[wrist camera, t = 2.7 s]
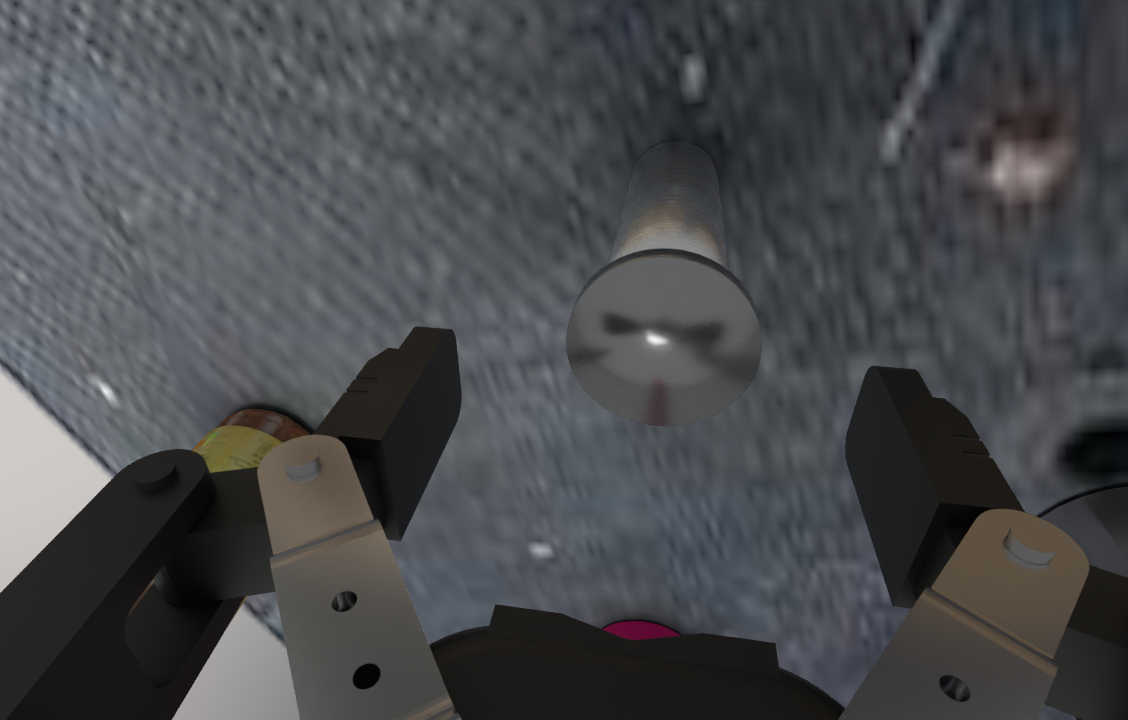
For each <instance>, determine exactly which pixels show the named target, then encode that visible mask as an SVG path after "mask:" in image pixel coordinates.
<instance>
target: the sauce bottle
mask: <svg viewBox="0 0 1128 720" xmlns="http://www.w3.org/2000/svg"><path fill="white" fill-rule="evenodd" d="M307 435H310V433H309V432H308V431H307V430H306V429H304V428H303V427H302V426H300V425H299V424H298V423H296V422H294V421H293V420H291V419H290V418H289V417H287V416H285V415H281V414H278V413H275V412H274V411H267V410H262V409H244V410H241V411H238V412H237V413H235V414H232V415H230V416H229V417H227V418H226V419H225V420H224V421H223V422H222V423H221V424H220V425H219V426H218V427H216V428H215V429H214V430H211V431H210V432H209V433H208V434H207V435H206V436H205V437H204V438H203V439H202V440H201V441H200V442H199V443H198V444H197V446H196V447H195V448H194V449H193V450H192V451H194V452H197V453H198V454H200V455H201V456H202V457H203V458H204V459H205V461H206V464H207V466H208V469H209V471H210V473H212V472H220V471H228V470H237V469H245V468H253V467H258V466H259V464H260V462H261V460H262V459H263V458H264V457H265V455H266V454H268V453H269V452H270V451H271V450H272V449H274V448H275V447H277V446H278V445H280V444H282V443H284V442H286V441H288V440H291V439H294V438H297V437H301V436H307ZM153 583H154V581H153V580H152V581H151V583H150V584H149V585H148V586H147V588H146V589H145V590H144V592H143V593H142V594H141V596H140V597H139V598H138V600H137V601H136V602H135V604H134V605H133V607H132V608H131V610H130V612H129V614H128V616H129V615H130V614H131V612H132V611H133V610H134V608H135V607H136V606H137V604H138V603H139V602H140V600H141V599H142V598H143V596H144V595H145V594H146V592H147V591H148V590H149V588H150V587H151V586H152V584H153ZM246 598H247V596H246V597H245V598H244V600H243V602H242V603H241V605H240V607H241V606H242V604H243V603H244V601H245V599H246ZM240 607H239V608H238V610H239V609H240ZM238 610H237V612H238ZM237 612H236V613H237ZM236 613H235V615H236ZM235 615H234V616H235ZM127 618H128V617H127ZM233 618H234V617H233ZM233 618H232V619H233ZM231 621H232V620H231ZM229 624H230V623H229Z"/></svg>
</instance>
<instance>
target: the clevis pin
mask: <svg viewBox="0 0 1128 720" xmlns="http://www.w3.org/2000/svg"><path fill="white" fill-rule="evenodd" d="M566 345H567V354H568V359H569V363H570V365H571V368H572V371H573V373H574V375H575V377H576V378H577V380H578V382H579V383H580V385H581V386H582V387H583V389H584V390H585V391H586V392H587V393H588V394H589V395H590V397H591V398H593V399H594V400H595V401H596V402H597V403H598V404H600V405H601V406H603V407H604V408H606V409H607V410H609V411H610V412H612V413H614V414H616V415H618V416H620V417H623V418H625V419H628V420H630V421H634V422H638V423H642V424H648V425H655V426H677V425H684V424H690V423H694V422H697V421H701V420H703V419H706V418H709V417H711V416H713V415H715V414H717V413H719V412H721V411H722V410H724V409H725V408H727V407H728V406H730V405H731V404H732V403H733V402H734V401H736V400H737V399H738V398H739V397H740V396H741V395H742V393H743V392H744V391H745V390H746V389H747V387H748V386H749V384H750V383H751V381H752V380H753V378H754V375H755V373H756V371H757V369H758V365H759V362H760V358H761V350H762V340H761V332H760V326H759V321H758V316H757V311H756V308H755V305H754V303H753V300H752V298H751V297H750V295H749V293H748V291H747V290H746V288H745V287H744V286H743V284H742V283H741V282H740V281H739V280H738V279H737V278H736V277H735V276H734V275H733V274H732V273H731V272H730V271H729V269H728V260H727V251H726V243H725V234H724V226H723V217H722V209H721V200H720V191H719V183H718V175H717V170H716V167H715V164H714V163H713V161H712V159H711V158H710V156H709V155H708V154H707V153H706V152H705V151H704V150H703V149H702V148H700V147H699V146H697V145H695V144H693V143H690V142H686V141H680V140H672V141H666V142H663V143H660V144H657V145H655V146H654V147H652V148H650V149H649V150H648V151H647V152H645V153H644V154H643V155H642V157H641V158H640V159H639V161H638V162H637V164H636V166H635V168H634V171H633V174H632V178H631V182H630V186H629V189H628V193H627V197H626V200H625V204H624V208H623V212H622V215H621V219H620V223H619V226H618V230H617V234H616V238H615V241H614V245H613V249H612V252H611V256H610V260H609V263H608V264H607V265H606V266H605V267H603V268H602V269H600V270H599V271H598V272H597V273H596V274H595V275H594V276H593V277H592V278H591V279H590V280H589V281H588V282H587V284H586V285H585V286H584V287H583V289H582V291H581V293H580V294H579V296H578V298H577V300H576V303H575V305H574V308H573V311H572V314H571V317H570V320H569V324H568V328H567V337H566Z"/></svg>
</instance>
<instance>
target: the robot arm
mask: <svg viewBox="0 0 1128 720" xmlns="http://www.w3.org/2000/svg"><path fill="white" fill-rule="evenodd" d="M460 408H461V384H460V374H459V364H458V354H457V344H456V337H455V334H454V331H453V330H451V329H441V328H430V327H418V326H417V327H414V328H413V329H412V331H411V332H410V334H409V335H408V337H407V338H406V339H405V341H404V342H403V344H402V345H401V346H400V348H399V349H394V348H388V349H386V350H385V351H383V352H381V353H380V354H378V355H377V356H375V357H374V358H372V359H370V360H369V361H368V362H367V363H366V365H365V366H364V367H363V369H362V370H361V371H360V372H359V374H358V375H357V376H356V380H353V382H352V383H351V384H350V386H349V387H348V388H347V392H346V393H344V394H343V395H342V396H341V398H340V399H339V400H338V402H337V403H336V404H335V405H334V407H333V408H332V409H331V411H330V412H329V413H328V415H327V416H326V417H325V419H324V420H323V421H322V423H321V424H320V425H319V427H318V428H317V429H316V431H315V432H314V433H313V435H307V436H301V437H297V438H294V439H291V440H288V441H286V442H284V443H282V444H280V445H278V446H277V447H275V448H274V449H272V450H271V451H270V452H269V453H268V454H266V455H265V457H264V458H263V459H262V460H261V462H260V464H259V466H258V467H253V468H245V469H237V470H228V471H220V472H212V473H210V471H209V469H208V466H207V464H206V461H205V459H204V458H203V457H202V456H201V455H200V454H198V453H197V452H194V451H191V450H185V449H174V450H166V451H161V452H157V453H154V454H151V455H148V456H146V457H143V458H141V459H139V460H137V461H135V462H133V463H131V464H130V465H128V466H127V467H125V468H124V469H123V470H121V471H120V472H119V473H118V474H117V475H116V476H115V477H114V478H113V479H112V480H111V481H110V482H109V483H108V484H107V485H106V486H105V487H104V488H103V489H102V490H101V491H100V492H99V493H98V494H97V495H96V496H95V497H94V498H93V499H92V500H91V501H90V502H89V503H88V504H87V505H86V506H85V508H83V510H81V512H79V513H78V514H77V515H76V516H75V518H74V519H73V520H72V521H71V522H70V523H69V524H68V525H67V526H66V527H65V528H64V529H63V530H62V531H61V532H60V533H59V534H58V535H57V536H56V537H55V538H54V539H53V540H52V541H51V542H50V543H49V544H48V545H47V546H46V547H45V548H44V549H43V550H42V551H41V552H40V553H39V554H38V555H37V556H36V557H35V558H34V559H33V560H32V562H30V564H28V566H27V567H26V568H24V569H23V571H22V572H21V573H20V574H19V575H18V576H17V577H16V578H15V579H14V580H13V581H12V582H11V583H10V584H9V585H8V586H7V587H6V588H5V589H4V590H3V591H2V592H1V593H0V720H172V718H173V717H174V715H175V713H176V712H177V710H178V708H179V707H180V705H181V703H182V702H183V700H184V698H185V697H186V695H187V693H188V692H189V690H190V688H191V687H192V685H193V683H194V682H195V680H196V678H197V677H198V675H199V673H200V672H201V670H202V668H203V667H204V665H205V663H206V662H207V660H208V658H209V657H210V655H211V653H212V652H213V650H214V648H215V647H216V645H217V643H218V642H219V640H220V638H221V636H222V635H223V633H224V631H225V630H226V628H227V627H228V625H229V623H230V622H231V620H232V618H233V617H234V615H235V613H236V612H237V610H238V608H239V607H240V605H241V603H242V602H243V600H244V598H245V597H246V596H250V595H256V594H263V593H269V592H276V597H277V602H278V607H279V612H280V618H281V623H282V628H283V633H284V638H285V643H286V649H287V654H288V659H289V664H290V669H291V674H292V680H293V685H294V689H295V695H296V701H297V706H298V711H299V716H300V720H1038V717H1039V715H1040V712H1041V710H1042V707H1043V705H1044V704H1046V705H1048V706H1051V707H1053V708H1055V709H1058V710H1060V711H1063V712H1065V713H1068V714H1070V715H1073V716H1075V717H1076V719H1077V720H1128V486H1127V487H1121V488H1114V489H1108V490H1104V491H1101V492H1097V493H1093V494H1090V495H1086V496H1083V497H1080V498H1078V499H1075V500H1073V501H1071V502H1068V503H1066V504H1064V505H1061V506H1059V507H1057V508H1056V509H1054V510H1052V511H1051V512H1049V513H1048V514H1046V515H1044V516H1043V517H1041V518H1039V517H1036V516H1034V515H1031V514H1028V513H1025V511H1024V509H1023V508H1022V506H1021V505H1020V503H1019V501H1018V500H1017V498H1016V496H1015V495H1014V493H1013V491H1012V490H1011V488H1010V486H1009V485H1008V483H1007V482H1006V480H1005V478H1004V477H1003V475H1002V473H1001V472H1000V470H999V468H998V467H997V465H996V463H995V462H994V460H993V459H992V458H989V455H990V454H989V452H988V450H987V449H986V447H985V445H984V444H983V442H982V441H979V438H980V437H979V436H978V434H977V432H976V431H975V429H974V427H973V426H972V424H971V422H970V421H969V419H968V418H967V417H966V416H965V415H964V414H963V413H962V412H960V411H959V410H958V409H957V408H955V407H954V406H953V405H952V404H950V403H949V402H948V401H947V400H946V399H943V398H933V397H932V395H931V394H930V392H929V390H928V388H927V386H926V385H925V383H924V381H923V379H922V378H921V376H920V374H919V373H918V371H917V370H915V369H905V368H893V367H881V366H871V367H870V368H869V369H868V370H867V372H866V374H865V377H864V380H863V383H862V386H861V390H860V393H859V396H858V399H857V402H856V405H855V409H854V412H853V415H852V418H851V421H850V424H849V427H848V431H847V436H846V444H845V453H846V461H847V465H848V468H849V471H850V474H851V477H852V480H853V484H854V487H855V490H856V493H857V496H858V499H859V502H860V505H861V508H862V512H863V515H864V518H865V521H866V524H867V527H868V530H869V533H870V537H871V540H872V543H873V546H874V549H875V552H876V555H877V558H878V561H879V565H880V568H881V571H882V574H883V577H884V580H885V583H886V586H887V589H888V593H889V596H890V599H891V602H892V605H893V606H896V607H904V608H911V611H910V612H909V614H908V615H907V617H906V618H905V620H904V621H903V623H902V624H901V626H900V627H899V629H898V630H897V632H896V633H895V635H894V636H893V638H892V639H891V641H890V642H889V644H888V645H887V647H886V648H885V650H884V651H883V653H882V654H881V656H880V657H879V659H878V660H877V662H876V663H875V665H874V666H873V668H872V669H871V671H870V672H869V674H868V675H867V677H866V678H865V680H864V681H863V683H862V684H861V686H860V687H859V689H858V690H857V692H856V693H855V695H854V696H853V698H852V699H851V701H850V702H849V704H848V705H847V707H846V708H844V707H843V706H842V705H841V704H840V703H838V702H837V701H836V700H834V699H833V698H832V697H831V696H829V695H828V694H827V693H825V692H824V691H823V690H821V689H820V688H818V687H816V686H815V685H813V684H812V683H810V682H808V681H807V680H805V679H803V678H801V677H799V676H797V675H795V674H793V673H791V672H789V671H787V670H784V669H782V668H779V666H778V659H777V651H776V644H775V643H770V642H763V641H756V640H749V639H741V638H734V637H727V636H720V635H712V634H705V633H702V634H691V635H681V636H671V637H661V638H650V639H640V640H631V639H626V638H623V637H620V636H618V635H615V634H613V633H610V632H607V631H605V630H602V629H600V628H597V627H595V626H592V625H589V624H587V623H584V622H582V621H579V620H577V619H574V618H571V617H569V616H566V615H564V614H561V613H554V612H546V611H539V610H532V609H525V608H518V607H510V606H503V605H496V604H495V608H494V611H493V615H492V618H491V622H490V625H489V626H483V627H477V628H472V629H468V630H463V631H460V632H457V633H454V634H451V635H449V636H446V637H444V638H442V639H440V640H438V641H435V642H433V643H431V644H430V645H429V644H428V641H427V639H426V636H425V634H424V631H423V629H422V626H421V624H420V621H419V619H418V616H417V614H416V611H415V609H414V606H413V604H412V601H411V598H410V596H409V593H408V591H407V588H406V586H405V583H404V581H403V578H402V576H401V573H400V571H399V568H398V566H397V563H396V561H395V558H394V556H393V553H392V551H391V548H390V546H389V543H388V541H387V539H389V540H396V541H401V539H402V537H403V535H404V533H405V531H406V529H407V526H408V524H409V522H410V520H411V518H412V516H413V514H414V512H415V510H416V507H417V505H418V503H419V501H420V499H421V497H422V495H423V493H424V491H425V488H426V486H427V484H428V482H429V480H430V478H431V476H432V474H433V471H434V469H435V467H436V465H437V463H438V461H439V459H440V457H441V455H442V452H443V450H444V448H445V446H446V444H447V442H448V440H449V438H450V436H451V433H452V431H453V429H454V427H455V425H456V423H457V420H458V417H459V413H460ZM152 580H153V581H154V583H153V584H152V586H151V587H150V588H149V590H148V591H147V592H146V594H145V595H144V596H143V598H142V599H141V600H140V602H139V603H138V604H137V606H136V607H135V608H134V610H133V611H132V612H131V614H130V615H129V616H128V614H129V612H130V610H131V608H132V607H133V605H134V604H135V602H136V601H137V600H138V598H139V597H140V596H141V594H142V593H143V592H144V590H145V589H146V588H147V586H148V585H149V584H150V583H151V581H152ZM127 617H128V618H127Z"/></svg>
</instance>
